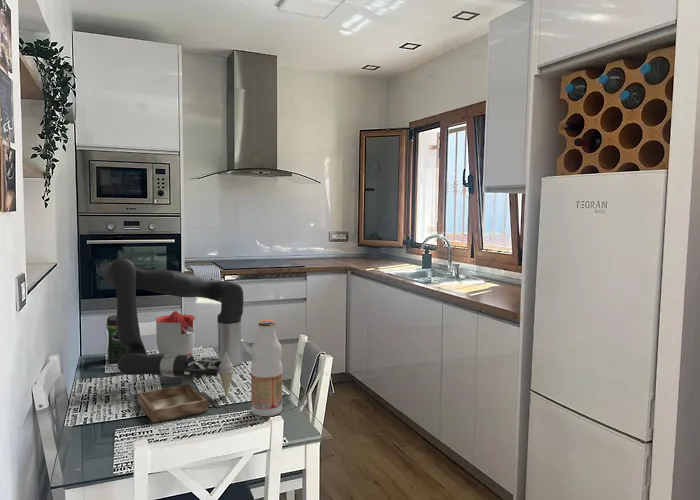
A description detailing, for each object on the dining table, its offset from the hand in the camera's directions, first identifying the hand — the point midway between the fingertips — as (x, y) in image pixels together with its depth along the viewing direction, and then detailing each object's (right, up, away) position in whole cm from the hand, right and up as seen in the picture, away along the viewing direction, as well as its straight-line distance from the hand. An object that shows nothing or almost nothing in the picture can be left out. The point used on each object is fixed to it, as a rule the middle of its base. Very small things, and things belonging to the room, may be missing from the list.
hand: (222, 368), depth 172 cm
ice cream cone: (+1, -9, +1) cm, 9 cm away
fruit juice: (+17, -10, -13) cm, 24 cm away
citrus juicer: (-30, -6, +44) cm, 53 cm away
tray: (-11, -10, -9) cm, 17 cm away
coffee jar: (-52, -6, +41) cm, 67 cm away
